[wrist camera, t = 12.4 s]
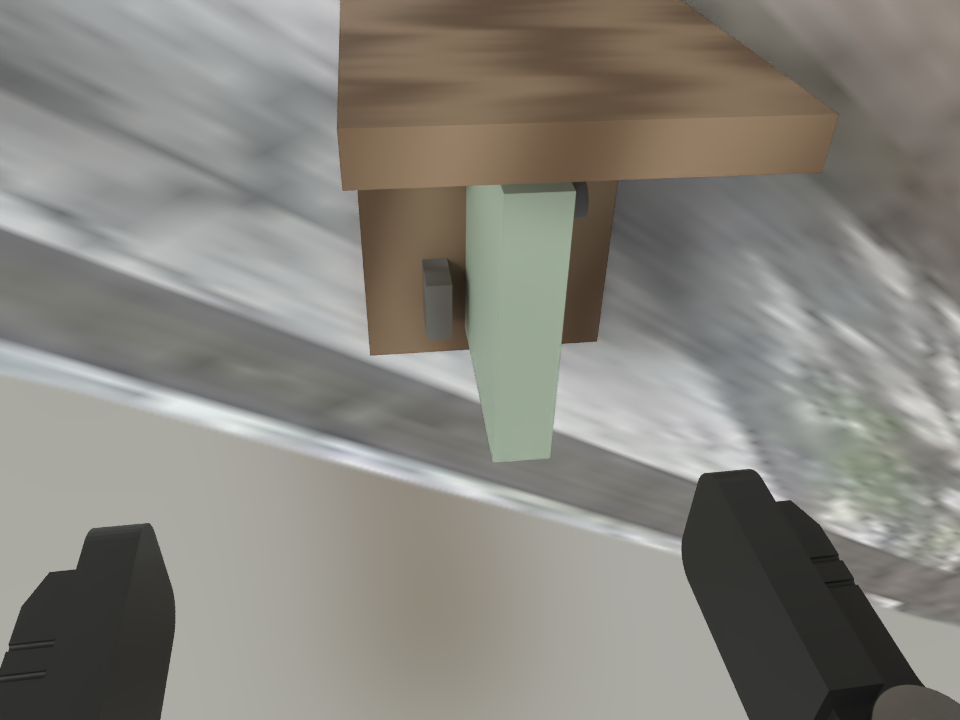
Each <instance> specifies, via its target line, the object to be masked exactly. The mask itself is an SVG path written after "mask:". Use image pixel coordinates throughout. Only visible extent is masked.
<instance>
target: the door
mask: <svg viewBox="0 0 960 720" xmlns="http://www.w3.org/2000/svg"><path fill="white" fill-rule="evenodd" d="M588 205H589V194H588V187H587V183H586V181H585V182H558V183H532V184H506V185H479V186H466V276H465V330H466V334H467V339H468V344H469V349H470V354H471V358H472V363H473V368H474V373H475V378H476V383H477V387H478V392H479V397H480V402H481V407H482V411H483V416H484V421H485V426H486V431H487V435H488V440H489V445H490V450H491V455H492V459H493V463H495V462H507V461H520V460H533V459H546V458H550V454H551V444H552V433H553V423H554V413H555V403H556V393H557V382H558V372H559V362H560V352H561V342H562V331H563V321H564V311H565V301H566V291H567V280H568V270H569V260H570V250H571V239H572V229H573V219H584V218H586V216H587V213H588Z"/></svg>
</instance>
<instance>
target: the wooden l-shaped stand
mask: <svg viewBox="0 0 960 720" xmlns="http://www.w3.org/2000/svg"><path fill="white" fill-rule="evenodd" d="M838 115H839V114H838V113H837V112H835V111H834V110H833V109H831V108H830V107H828V106H827V105H826V104H824V103H823V102H821V101H820V100H819V99H817V98H816V97H814V96H813V95H812V94H810V93H809V92H808V91H806V90H805V89H803V88H802V87H801V86H799V85H798V84H796V83H795V82H794V81H792V80H791V79H790V78H788V77H787V76H785V75H784V74H783V73H781V72H780V71H778V70H777V69H776V68H774V67H773V66H772V65H770V64H769V63H767V62H766V61H765V60H763V59H762V58H760V57H759V56H758V55H756V54H755V53H753V52H752V51H751V50H749V49H748V48H747V47H745V46H744V45H742V44H741V43H740V42H738V41H737V40H735V39H734V38H733V37H731V36H730V35H729V34H727V33H726V32H724V31H723V30H722V29H720V28H719V27H717V26H716V25H715V24H713V23H712V22H710V21H709V20H708V19H706V18H705V17H704V16H702V15H701V14H699V13H698V12H697V11H695V10H694V9H692V8H691V7H690V6H688V5H687V4H686V3H684V2H683V1H681V0H340V36H339V74H338V111H337V134H338V145H339V156H340V168H341V179H342V190H343V191H348V190H358V202H359V215H360V228H361V241H362V254H363V267H364V280H365V293H366V306H367V319H368V332H369V345H370V356H371V355H387V354H403V353H419V352H435V351H451V350H467V349H469V344H468V339H467V334H466V330H465V276H466V186H479V185H506V184H532V183H558V182H585V181H586V183H587V187H588V194H589V205H588V213H587V216H586V218H584V219H573V229H572V239H571V250H570V260H569V270H568V280H567V291H566V301H565V311H564V321H563V331H562V342H561V344H564V343H580V342H597V337H598V329H599V322H600V314H601V306H602V299H603V291H604V283H605V275H606V268H607V260H608V252H609V245H610V237H611V229H612V221H613V214H614V206H615V198H616V191H617V183H618V180H637V179H663V178H690V177H716V176H742V175H769V174H795V173H821V172H822V171H823V167H824V164H825V160H826V157H827V153H828V150H829V147H830V143H831V140H832V136H833V133H834V129H835V126H836V122H837V119H838Z"/></svg>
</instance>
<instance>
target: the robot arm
mask: <svg viewBox="0 0 960 720" xmlns="http://www.w3.org/2000/svg"><path fill="white" fill-rule="evenodd" d="M838 555H839V554H838V553H837V551H836V550H835V548H834V546H833V545H832V543H831V542H830V540H829V539H828V537H827V536H826V534H825V532H824V531H823V529H822V528H821V526H820V525H819V524H818V523H817V522H816V521H814V520H813V519H812V518H811V517H810V516H809V515H807V514H806V513H805V512H804V511H803V510H801V509H800V508H799V507H798V506H797V505H795V504H794V503H793V502H792V501H791V500H789V501H779V502H776V501H775V500H774V498H773V496H772V495H771V493H770V491H769V490H768V488H767V486H766V485H765V483H764V481H763V480H762V478H761V477H760V475H759V474H758V473H757V472H756V471H754V470H752V469H745V470H734V471H724V472H713V473H704V474H702V475H701V477H700V478H699V481H698V484H697V487H696V491H695V494H694V498H693V502H692V505H691V509H690V512H689V516H688V519H687V523H686V527H685V530H684V534H683V538H682V560H683V565H684V570H685V573H686V576H687V579H688V581H689V584H690V586H691V588H692V590H693V593H694V595H695V597H696V600H697V602H698V604H699V606H700V609H701V611H702V613H703V616H704V618H705V620H706V622H707V624H708V627H709V629H710V631H711V634H712V636H713V638H714V640H715V643H716V645H717V647H718V650H719V652H720V654H721V656H722V659H723V661H724V663H725V665H726V668H727V670H728V672H729V674H730V677H731V679H732V681H733V683H734V686H735V688H736V691H737V693H738V695H739V697H740V699H741V702H742V704H743V706H744V709H745V711H746V713H747V716H748V718H749V720H960V704H959V703H957V702H956V701H955V700H953V699H951V698H950V697H948V696H946V695H944V694H942V693H940V692H938V691H935V690H933V689H930V688H926V687H925V686H924V685H923V684H922V683H921V681H920V680H919V679H918V677H917V676H916V675H915V673H914V671H913V670H912V668H911V667H910V665H909V664H908V662H907V661H906V659H905V658H904V656H903V654H902V653H901V651H900V650H899V648H898V647H897V645H896V644H895V642H894V640H893V639H892V637H891V636H890V634H889V633H888V631H887V629H886V628H885V626H884V625H883V623H882V621H881V620H880V618H879V617H878V615H877V614H876V612H875V611H874V609H873V607H872V606H871V604H870V603H869V601H868V600H867V598H866V596H865V595H864V593H863V592H862V590H861V589H860V587H859V586H858V585H855V583H854V578H853V576H852V575H851V573H850V571H849V570H848V568H847V567H846V565H845V564H844V562H843V561H842V560H841V561H840V560H839V557H838ZM174 632H175V600H174V594H173V590H172V586H171V583H170V580H169V576H168V573H167V570H166V567H165V564H164V561H163V557H162V554H161V551H160V548H159V545H158V542H157V539H156V535H155V532H154V529H153V527H152V526H151V525H150V524H149V523H145V524H134V525H123V526H112V527H102V528H93V529H91V530H90V531H89V532H88V534H87V536H86V538H85V541H84V545H83V548H82V552H81V555H80V558H79V562H78V565H77V569H76V570H67V571H58V572H49V574H48V575H47V576H46V577H45V579H44V580H43V581H42V582H41V583H40V585H39V586H38V587H37V589H36V590H35V591H34V592H33V593H32V594H31V596H30V597H29V598H28V600H27V601H26V602H25V603H24V604H23V606H22V607H21V610H20V613H19V616H18V619H17V621H16V624H15V627H14V630H13V633H12V636H11V639H10V642H9V651H8V652H6V653H5V657H4V659H3V662H2V665H1V668H0V720H160V718H161V712H162V705H163V700H164V694H165V688H166V681H167V675H168V669H169V663H170V657H171V651H172V645H173V639H174Z"/></svg>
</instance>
